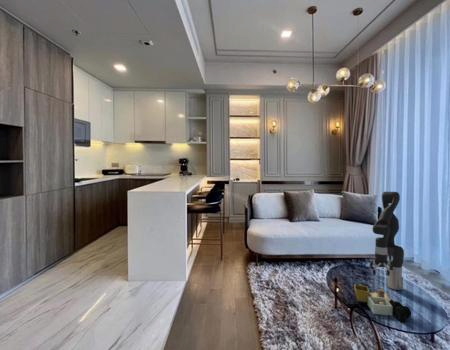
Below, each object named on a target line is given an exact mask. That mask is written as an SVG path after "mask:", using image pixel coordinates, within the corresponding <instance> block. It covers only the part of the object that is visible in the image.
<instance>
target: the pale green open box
mask: <svg viewBox="0 0 450 350" xmlns="http://www.w3.org/2000/svg"><path fill="white" fill-rule="evenodd" d="M367 306H368V308H369V309H370V311H371V313H373V314H374V315H383V316H393V315H392V307H393V306H392V305H391V304H390V303H389V302H388V301H387V299H386V298H381V297H371V295H369V296H368V301H367Z"/></svg>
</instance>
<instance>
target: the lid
mask: <svg viewBox="0 0 450 350" xmlns="http://www.w3.org/2000/svg"><path fill="white" fill-rule="evenodd" d="M383 289H384V288H383ZM383 289H381V288H377V292H369V296H371V297H381V298H386V299H387V301H388V302H389V301H390V300H392V298H391V297H389V296H388V294H387V293H385V291H384V290H383Z"/></svg>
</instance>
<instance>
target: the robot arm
mask: <svg viewBox="0 0 450 350" xmlns="http://www.w3.org/2000/svg"><path fill="white" fill-rule="evenodd" d="M400 200H401V197H400V193H399V192H398V191H383V192H382V193H381V202H382V207H383V210H382V211H381V212H380V214H379V217H378V219H377V221H376V222H375V223H374V224H373V226H372V233H374V234H376V235H380V236H382V237H376V238H375V246H374V259H370V260H369V268H370V269H371V270H372V275H374V276H376V274H377V273H376V270H377V269H378V268H385V269H386V270H385V271H386V276H387V282H386V283H387V287H388V288H389V289H392V290H394V291H395V290H396V291H401V290H402V291H403V289H404V276H403V264H404V260H405V259H404V256H405V251H404V249H403V247H401V246H399V245H397V244H395V237H396V235H397V234H398V232H399V230H400V221H399V219H398V217H397V216H396V214H394V212H395V211H396V209H397V206H398V204H399V202H400ZM388 256H390V257H392V259H389V260H388Z"/></svg>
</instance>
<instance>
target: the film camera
mask: <svg viewBox="0 0 450 350" xmlns="http://www.w3.org/2000/svg"><path fill="white" fill-rule="evenodd" d="M389 303H390V304H391V305H392V306H393V307H392V316H394V318H395V319H397V321H399V322H400V323H402V324H406V322H407V321H408V319H407V318H409V317H411V316H412V310H411V308H410V306H407V305H403V304H402V303H401V302H399V301H394V300H393V299H391V300H390V301H389Z"/></svg>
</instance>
